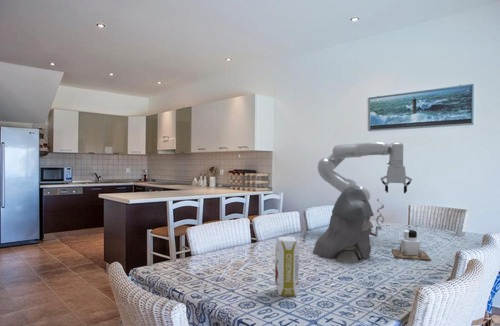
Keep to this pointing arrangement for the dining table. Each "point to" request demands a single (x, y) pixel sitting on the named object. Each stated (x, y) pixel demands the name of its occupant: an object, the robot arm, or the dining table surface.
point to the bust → (348, 228)
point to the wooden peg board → (400, 255)
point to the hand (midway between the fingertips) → (395, 192)
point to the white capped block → (410, 242)
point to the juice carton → (287, 266)
